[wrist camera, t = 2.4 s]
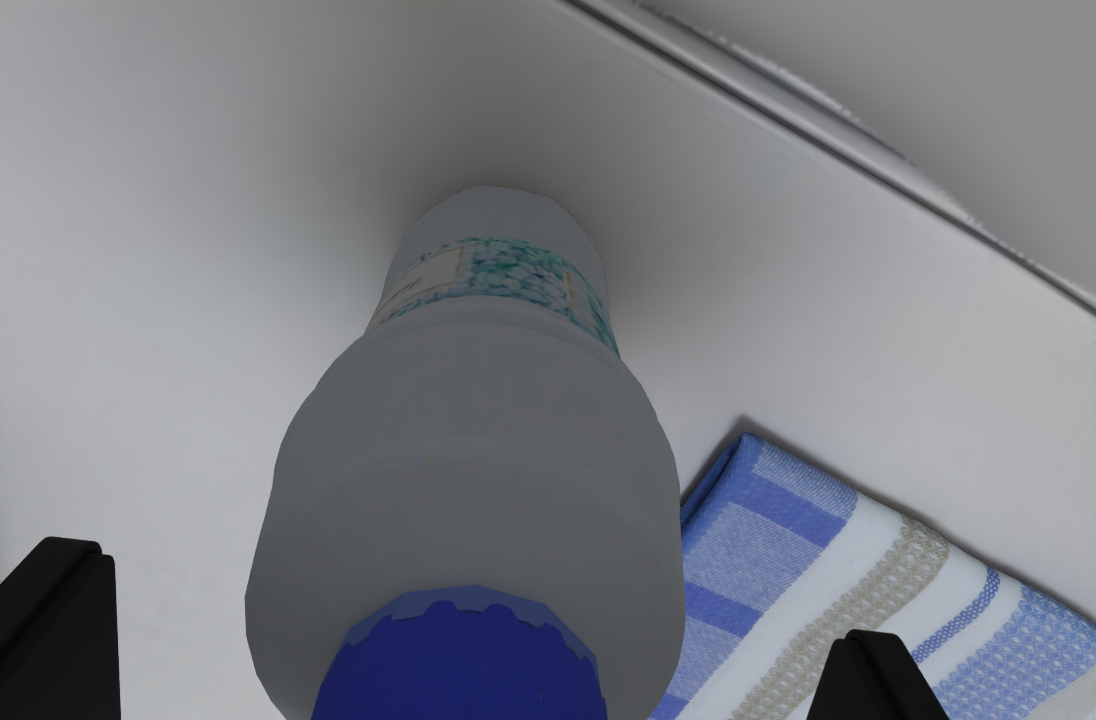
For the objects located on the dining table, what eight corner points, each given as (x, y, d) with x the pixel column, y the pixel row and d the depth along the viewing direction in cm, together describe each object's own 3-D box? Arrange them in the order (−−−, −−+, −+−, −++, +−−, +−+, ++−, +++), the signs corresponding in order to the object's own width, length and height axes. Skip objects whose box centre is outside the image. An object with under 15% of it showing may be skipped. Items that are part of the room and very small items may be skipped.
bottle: (464, 121, 25) (290, 455, 6) (648, 244, 26) (941, 798, 8) (353, 303, 27) (-24, 957, 8) (530, 407, 28) (542, 1151, 10)
